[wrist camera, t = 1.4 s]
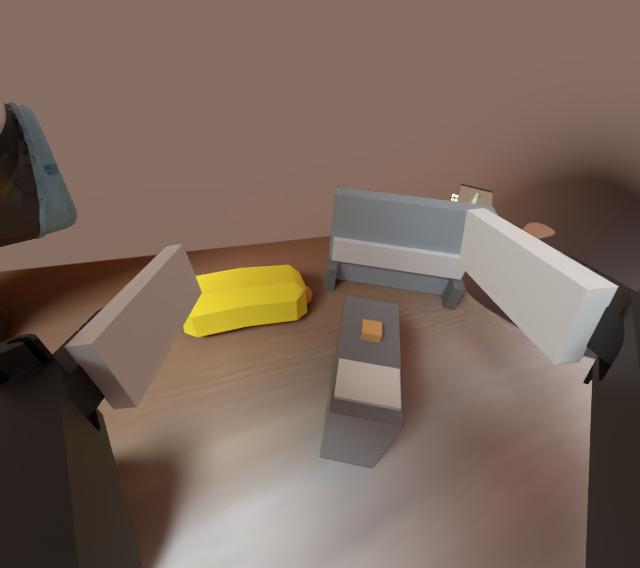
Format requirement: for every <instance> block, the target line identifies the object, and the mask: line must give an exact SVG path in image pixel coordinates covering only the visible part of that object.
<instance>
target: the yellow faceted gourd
mask: <svg viewBox="0 0 640 568" xmlns="http://www.w3.org/2000/svg"><path fill="white" fill-rule="evenodd" d="M196 279H197V281H198V284H199V286H200V289H201V291H202V294H201V296H200V297H199V299H198V301H197V303H196V304H195V306H194V308H193V310H192V311H191V313H190V315H189V317H188V318H187V320H186V322H185V324H184V325H183V328H184V332H185V333H187V334H190V335H192V336H195V337H201V336H206V335H210V334H215V333H220V332H224V331H229V330H233V329H238V328H243V327H247V326H254V325H262V324H270V323H278V322H286V321H295V320H298V319H299V318H301V317H302V316H303V315H304V314H305V313H307V303H309V302H310V301H311V298H312V294H313V293H312V291H311V290H310V288H309V287H308V286H305V284H304V281H303V279H302V277H301V275H300V272H298V271H297V270H296V269H294V268H293V267H291V266H290V265H277V266H262V267H248V268H238V269H232V270H227V271H221V272H216V273H211V274H205V275H200V276H196Z"/></svg>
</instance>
